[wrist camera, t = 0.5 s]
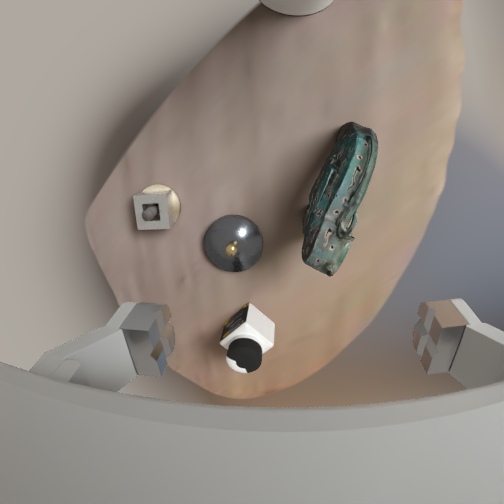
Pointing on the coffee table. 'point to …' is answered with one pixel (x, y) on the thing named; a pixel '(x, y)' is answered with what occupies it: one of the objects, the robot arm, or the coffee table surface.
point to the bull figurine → (338, 198)
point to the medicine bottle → (247, 338)
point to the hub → (233, 243)
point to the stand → (154, 207)
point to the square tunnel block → (165, 209)
